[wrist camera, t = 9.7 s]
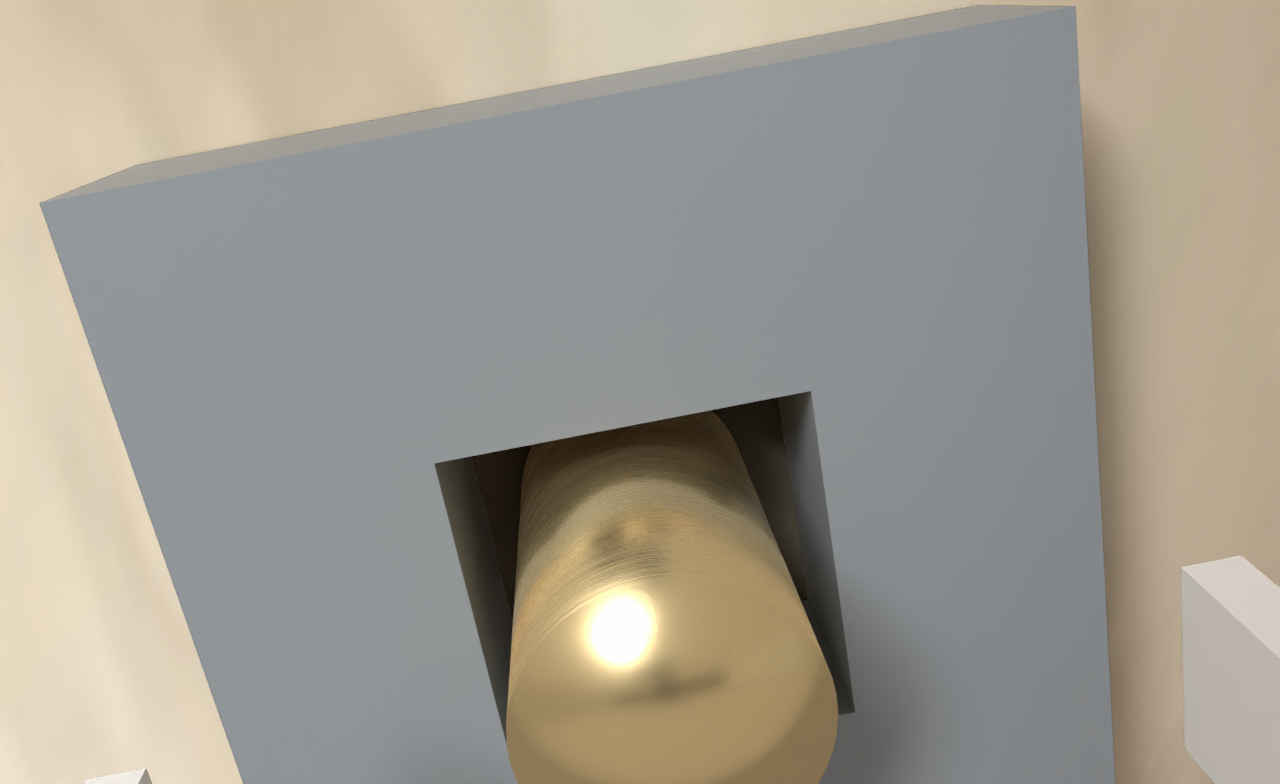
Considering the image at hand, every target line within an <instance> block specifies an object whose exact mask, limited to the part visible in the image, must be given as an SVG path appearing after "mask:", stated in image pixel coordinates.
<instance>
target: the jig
mask: <svg viewBox="0 0 1280 784" xmlns="http://www.w3.org/2000/svg"><path fill="white" fill-rule="evenodd" d="M40 206H41V209H42V212H43V215H44V217H45V220H46V223H47V226H48V229H49V232H50V234H51V237H52V240H53V243H54V246H55V249H56V252H57V254H58V257H59V260H60V263H61V266H62V269H63V271H64V274H65V277H66V280H67V283H68V286H69V289H70V291H71V294H72V297H73V300H74V303H75V306H76V308H77V311H78V314H79V317H80V320H81V323H82V326H83V328H84V331H85V334H86V337H87V340H88V343H89V346H90V348H91V351H92V354H93V357H94V360H95V363H96V365H97V368H98V371H99V374H100V377H101V380H102V383H103V385H104V388H105V391H106V394H107V397H108V400H109V402H110V405H111V408H112V411H113V414H114V417H115V420H116V422H117V425H118V428H119V431H120V434H121V437H122V439H123V442H124V445H125V448H126V451H127V454H128V457H129V459H130V462H131V465H132V468H133V471H134V474H135V477H136V479H137V482H138V485H139V488H140V491H141V494H142V496H143V499H144V502H145V505H146V508H147V511H148V514H149V516H150V519H151V522H152V525H153V528H154V531H155V533H156V536H157V539H158V542H159V545H160V548H161V551H162V553H163V556H164V559H165V562H166V565H167V568H168V570H169V573H170V576H171V579H172V582H173V585H174V588H175V590H176V593H177V596H178V599H179V602H180V605H181V608H182V610H183V613H184V616H185V619H186V622H187V625H188V627H189V630H190V633H191V636H192V639H193V642H194V645H195V647H196V650H197V653H198V656H199V659H200V662H201V664H202V667H203V670H204V673H205V676H206V679H207V682H208V684H209V687H210V690H211V693H212V696H213V699H214V701H215V704H216V707H217V710H218V713H219V716H220V719H221V721H222V724H223V727H224V730H225V733H226V736H227V739H228V741H229V744H230V747H231V750H232V753H233V756H234V758H235V761H236V764H237V767H238V770H239V773H240V776H241V778H242V781H243V784H518V783H517V781H516V778H515V775H514V772H513V770H512V767H511V764H510V760H509V754H508V749H507V740H506V719H507V704H508V689H509V674H510V658H511V643H512V628H513V619H512V615H511V610H510V606H509V602H508V598H507V594H506V590H505V586H504V582H503V578H502V574H501V570H500V565H499V561H498V557H497V553H496V549H495V545H494V541H493V537H492V533H491V529H490V525H489V521H488V516H487V512H486V508H485V504H484V500H483V496H482V492H481V488H480V484H479V480H478V476H477V471H476V467H475V463H474V459H473V456H476V455H481V454H486V453H491V452H496V451H502V450H507V449H512V448H517V447H522V446H528V445H533V444H538V443H543V442H548V441H554V440H559V439H564V438H569V437H574V436H580V435H585V434H590V433H595V432H600V431H606V430H611V429H616V428H621V427H626V426H632V425H637V424H642V423H647V422H652V421H657V420H663V419H668V418H673V417H678V416H683V415H689V414H694V413H699V412H704V411H709V410H715V409H720V408H725V407H730V406H735V405H741V404H746V403H751V402H756V401H761V400H767V399H772V398H777V397H778V402H779V409H780V416H781V423H782V429H783V436H784V443H785V450H786V456H787V463H788V470H789V477H790V484H791V490H792V497H793V504H794V511H795V517H796V524H797V531H798V538H799V544H800V551H801V558H802V565H803V571H804V578H805V585H806V592H807V599H808V600H803V601H801V602H802V605H803V607H804V610H805V612H806V614H807V617H808V619H809V622H810V624H811V627H812V629H813V631H814V634H815V636H816V639H817V641H818V644H819V646H820V648H821V651H822V653H823V656H824V658H825V661H826V663H827V666H828V668H829V670H830V673H831V675H832V678H833V682H834V686H835V691H836V695H837V705H838V725H837V735H836V739H835V744H834V748H833V752H832V755H831V757H830V760H829V763H828V765H827V768H826V770H825V772H824V774H823V776H822V777H821V779H820V781H819V783H818V784H1115V769H1114V749H1113V730H1112V710H1111V691H1110V671H1109V652H1108V633H1107V613H1106V594H1105V574H1104V555H1103V535H1102V516H1101V496H1100V477H1099V457H1098V438H1097V418H1096V399H1095V379H1094V360H1093V341H1092V321H1091V302H1090V282H1089V263H1088V243H1087V224H1086V204H1085V185H1084V165H1083V146H1082V126H1081V107H1080V87H1079V68H1078V48H1077V29H1076V10H1075V6H1012V5H977V6H971V7H966V8H961V9H956V10H950V11H945V12H940V13H934V14H929V15H924V16H919V17H913V18H908V19H903V20H898V21H892V22H887V23H882V24H877V25H871V26H866V27H861V28H855V29H850V30H845V31H840V32H834V33H829V34H824V35H819V36H813V37H808V38H803V39H798V40H792V41H787V42H782V43H776V44H771V45H766V46H761V47H755V48H750V49H745V50H740V51H734V52H729V53H724V54H719V55H713V56H708V57H703V58H698V59H692V60H687V61H682V62H676V63H671V64H666V65H661V66H655V67H650V68H645V69H640V70H634V71H629V72H624V73H619V74H613V75H608V76H603V77H597V78H592V79H587V80H582V81H576V82H571V83H566V84H561V85H555V86H550V87H545V88H540V89H534V90H529V91H524V92H518V93H513V94H508V95H503V96H497V97H492V98H487V99H482V100H476V101H471V102H466V103H461V104H455V105H450V106H445V107H440V108H434V109H429V110H424V111H418V112H413V113H408V114H403V115H397V116H392V117H387V118H382V119H376V120H371V121H366V122H361V123H355V124H350V125H345V126H339V127H334V128H329V129H324V130H318V131H313V132H308V133H303V134H297V135H292V136H287V137H282V138H276V139H271V140H266V141H260V142H255V143H250V144H245V145H239V146H234V147H229V148H224V149H218V150H213V151H208V152H203V153H197V154H192V155H187V156H182V157H176V158H171V159H166V160H160V161H155V162H150V163H145V164H139V165H135V166H132V167H130V168H127V169H125V170H122V171H120V172H117V173H115V174H112V175H110V176H107V177H105V178H102V179H99V180H97V181H94V182H92V183H89V184H87V185H84V186H82V187H79V188H77V189H74V190H72V191H69V192H66V193H64V194H61V195H59V196H56V197H54V198H51V199H49V200H46V201H44V202H41V203H40Z"/></svg>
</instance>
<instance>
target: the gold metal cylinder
mask: <svg viewBox="0 0 1280 784" xmlns="http://www.w3.org/2000/svg"><path fill="white" fill-rule="evenodd" d="M837 725H838V705H837V695H836V691H835V686H834V682H833V678H832V675H831V673H830V670H829V668H828V666H827V663H826V661H825V658H824V656H823V653H822V651H821V648H820V646H819V644H818V641H817V639H816V636H815V634H814V631H813V629H812V627H811V624H810V622H809V619H808V617H807V614H806V612H805V610H804V607H803V605H802V602H801V600H800V597H799V595H798V593H797V590H796V588H795V585H794V583H793V580H792V578H791V576H790V573H789V571H788V568H787V566H786V563H785V561H784V559H783V556H782V554H781V551H780V549H779V546H778V544H777V541H776V539H775V537H774V534H773V532H772V529H771V527H770V524H769V522H768V520H767V517H766V515H765V512H764V510H763V507H762V505H761V503H760V500H759V498H758V495H757V493H756V490H755V488H754V486H753V483H752V481H751V478H750V476H749V473H748V471H747V469H746V466H745V464H744V461H743V459H742V456H741V454H740V452H739V449H738V447H737V444H736V442H735V440H734V438H733V436H732V435H731V433H730V431H729V429H728V428H727V427H726V426H725V424H724V423H723V422H722V420H721V419H720V418H719V417H718V416H717V415H716V414H715V413H714V412H713V411H712V410H709V411H704V412H699V413H694V414H689V415H683V416H678V417H673V418H668V419H663V420H657V421H652V422H647V423H642V424H637V425H632V426H626V427H621V428H616V429H611V430H606V431H600V432H595V433H590V434H585V435H580V436H574V437H569V438H564V439H559V440H554V441H548V442H543V443H538V444H533V445H532V447H531V449H530V452H529V454H528V456H527V460H526V463H525V467H524V472H523V480H522V493H521V508H520V523H519V538H518V553H517V568H516V583H515V598H514V613H513V628H512V643H511V658H510V674H509V689H508V704H507V719H506V740H507V749H508V754H509V760H510V764H511V767H512V770H513V772H514V775H515V778H516V781H517V783H518V784H818V783H819V781H820V779H821V777H822V776H823V774H824V772H825V770H826V768H827V765H828V763H829V760H830V757H831V755H832V752H833V748H834V744H835V739H836V735H837Z"/></svg>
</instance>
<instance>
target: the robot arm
mask: <svg viewBox="0 0 1280 784" xmlns="http://www.w3.org/2000/svg"><path fill="white" fill-rule="evenodd" d="M1181 594H1182V642H1183V690H1184V738H1185V749H1186V750H1187V752H1188V753H1189V754H1190V755H1191V757H1192V758H1193V759H1194V760H1195V761H1196V763H1197V764H1198V765H1199V766H1200V767H1201V769H1202V770H1203V771H1204V772H1205V773H1206V775H1207V776H1208V777H1209V778H1210V779H1211V781H1212V782H1213V783H1214V784H1280V587H1279V586H1277V585H1276V584H1275V583H1274V582H1272V581H1271V580H1270V579H1269V578H1268V577H1266V576H1265V575H1264V574H1263V573H1262V572H1260V571H1259V570H1258V569H1257V568H1256V567H1254V566H1253V565H1252V564H1251V563H1249V562H1248V561H1247V560H1246V559H1245V558H1243V557H1242V556H1241V555H1240V556H1235V557H1230V558H1225V559H1220V560H1215V561H1209V562H1204V563H1199V564H1194V565H1189V566H1184V567H1181ZM83 784H152V782H151V779H150V777H149V774H148V772H147V769H146V768H144V769H139V770H134V771H128V772H123V773H118V774H113V775H108V776H103V777H98V778H92V779H87V780H85V781H84V783H83Z"/></svg>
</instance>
